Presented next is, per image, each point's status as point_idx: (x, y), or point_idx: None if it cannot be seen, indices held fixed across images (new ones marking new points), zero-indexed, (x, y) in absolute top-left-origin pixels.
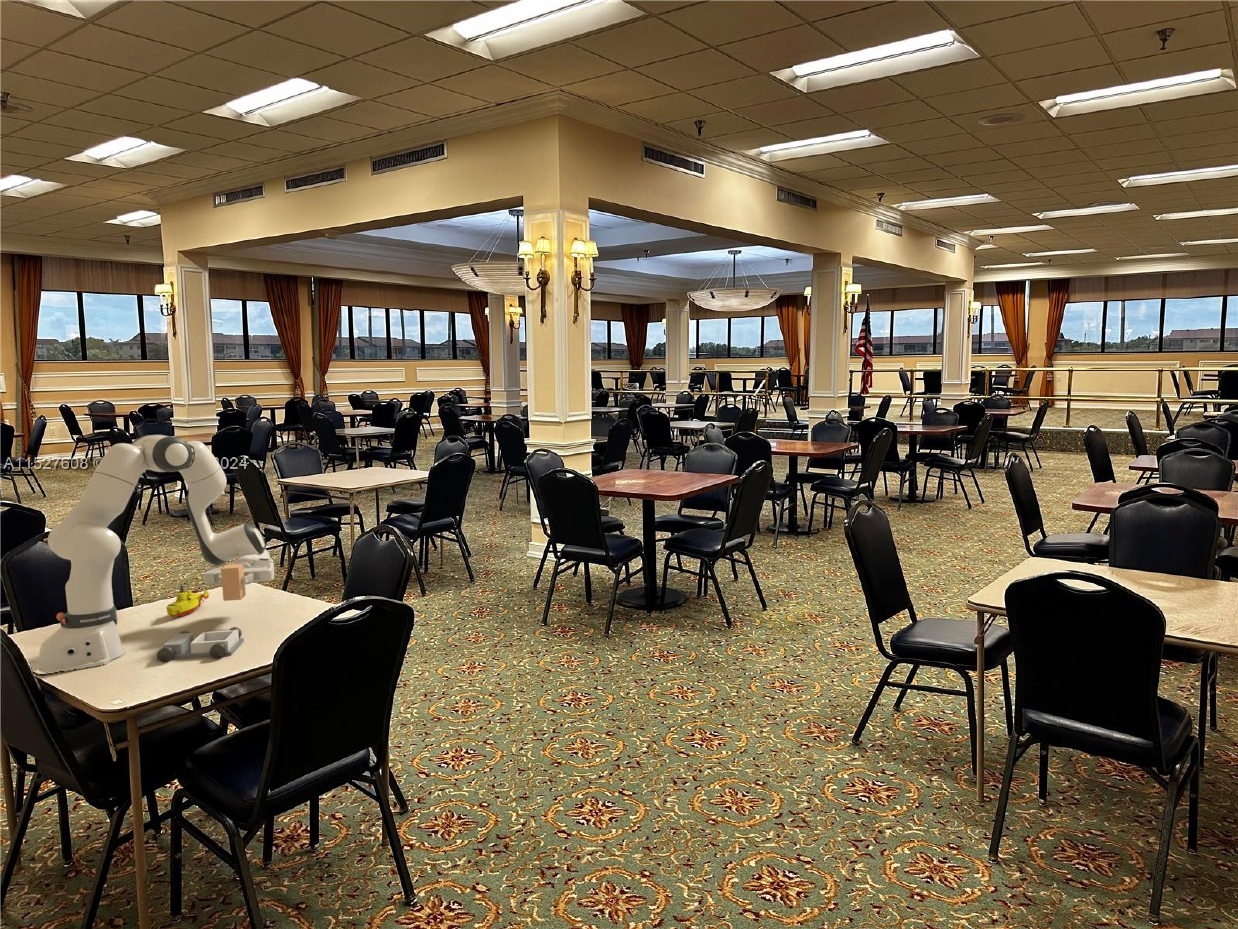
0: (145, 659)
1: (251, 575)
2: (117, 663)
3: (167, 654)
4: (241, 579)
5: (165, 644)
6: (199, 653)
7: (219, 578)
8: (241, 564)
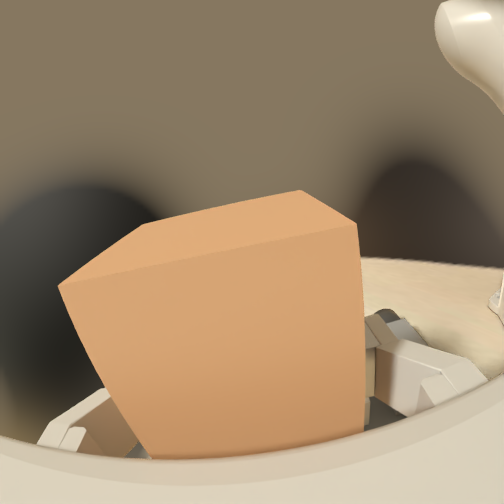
0: (442, 338)
1: (67, 419)
2: (475, 316)
3: None
4: None
5: (401, 322)
6: None
7: (382, 319)
8: (87, 267)
